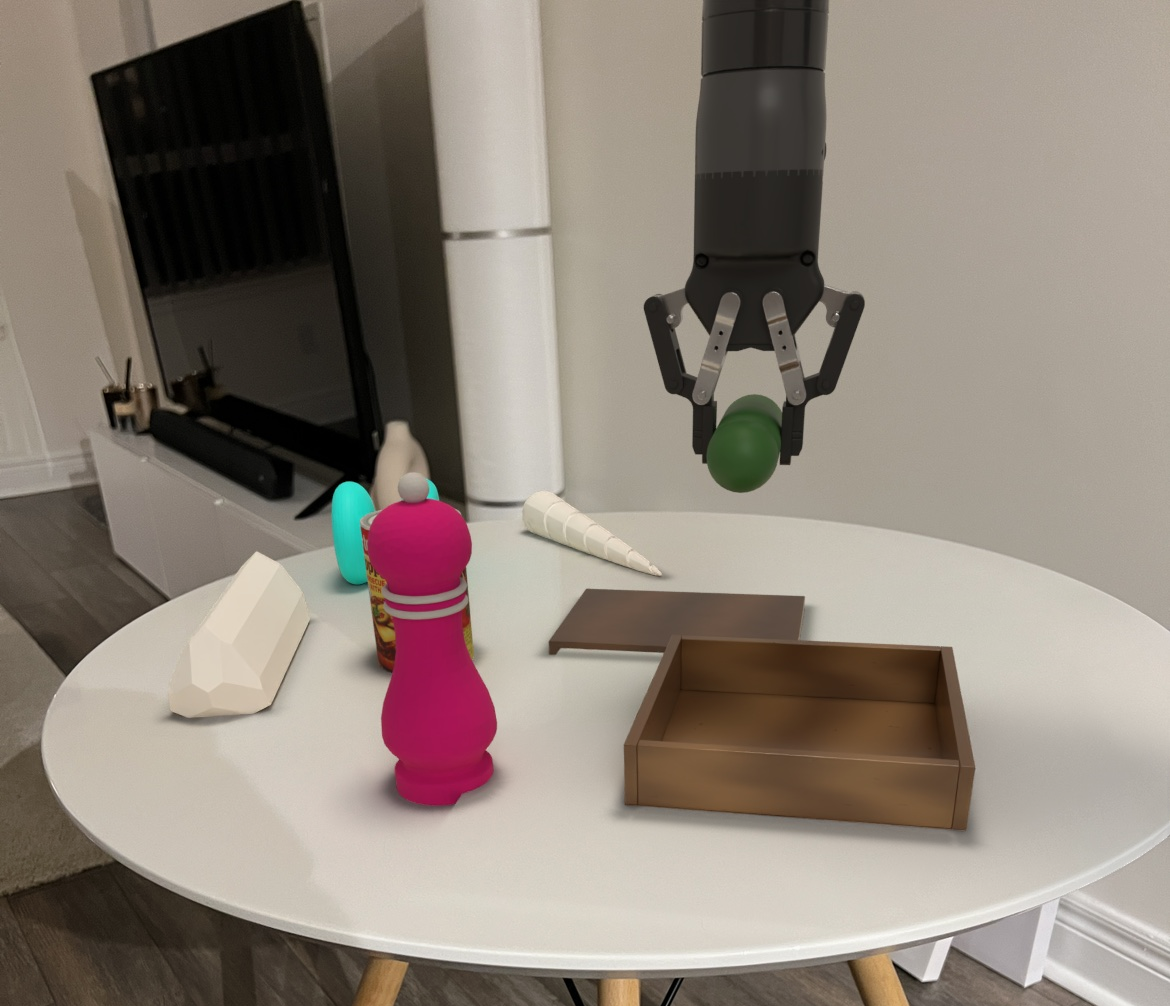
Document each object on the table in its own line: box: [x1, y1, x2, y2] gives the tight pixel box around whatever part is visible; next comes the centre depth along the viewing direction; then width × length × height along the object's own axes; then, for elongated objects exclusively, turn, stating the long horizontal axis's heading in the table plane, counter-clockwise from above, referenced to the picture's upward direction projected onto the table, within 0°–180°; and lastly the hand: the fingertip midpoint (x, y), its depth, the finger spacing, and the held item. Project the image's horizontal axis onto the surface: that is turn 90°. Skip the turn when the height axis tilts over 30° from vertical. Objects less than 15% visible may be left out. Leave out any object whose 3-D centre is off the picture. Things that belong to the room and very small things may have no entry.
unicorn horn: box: [521, 490, 663, 577], centre depth 116 cm, size 5×24×5 cm, turn 29°
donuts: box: [331, 478, 440, 586], centre depth 109 cm, size 10×10×10 cm
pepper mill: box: [367, 471, 498, 807], centre depth 66 cm, size 7×7×20 cm
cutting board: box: [548, 588, 806, 656], centre depth 94 cm, size 20×14×2 cm
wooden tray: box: [623, 635, 976, 832], centre depth 71 cm, size 20×19×5 cm
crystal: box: [167, 550, 311, 719], centre depth 90 cm, size 7×7×24 cm
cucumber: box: [706, 393, 782, 494], centre depth 72 cm, size 14×4×4 cm, turn 168°
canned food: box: [360, 508, 475, 674], centre depth 88 cm, size 8×8×12 cm
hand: (747, 460), depth 73 cm, fingers closed on cucumber, 4 cm apart
